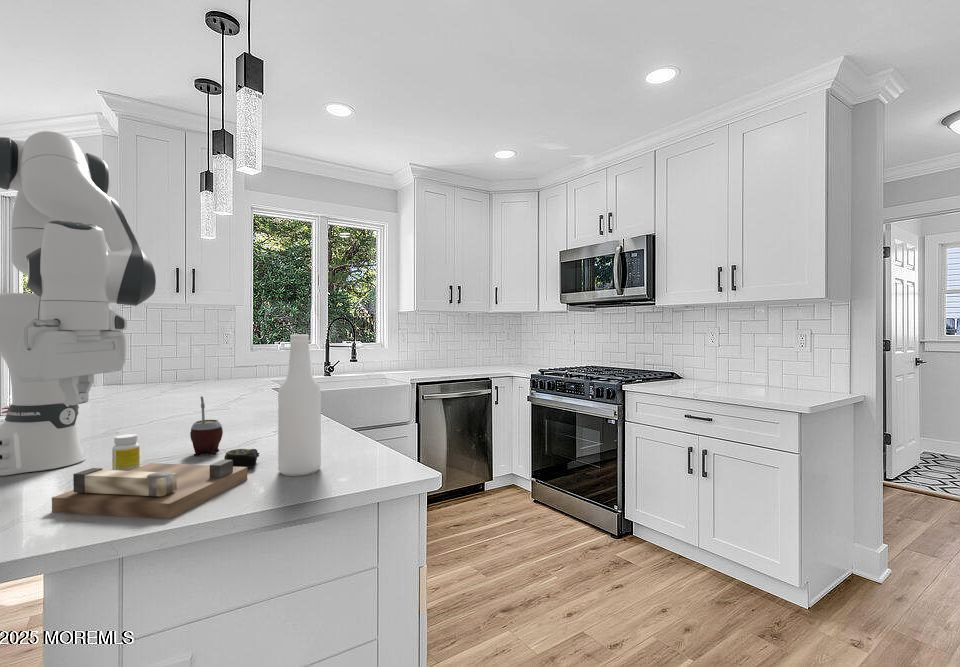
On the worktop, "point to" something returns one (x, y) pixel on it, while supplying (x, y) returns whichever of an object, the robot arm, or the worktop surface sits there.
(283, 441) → the alcohol
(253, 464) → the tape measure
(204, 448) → the mate gourd
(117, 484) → the folding leg
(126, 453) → the supplement bottle
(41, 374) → the robot arm
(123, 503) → the wooden cutting board
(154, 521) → the worktop surface
